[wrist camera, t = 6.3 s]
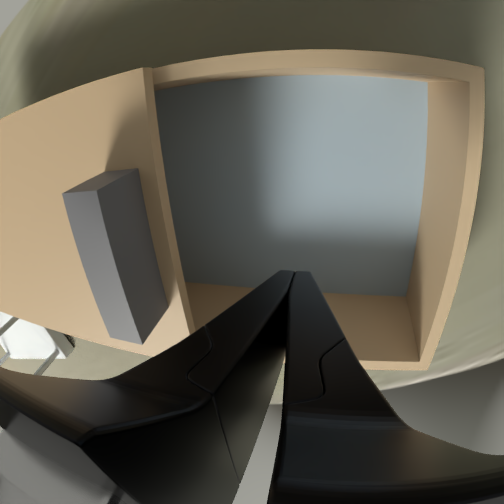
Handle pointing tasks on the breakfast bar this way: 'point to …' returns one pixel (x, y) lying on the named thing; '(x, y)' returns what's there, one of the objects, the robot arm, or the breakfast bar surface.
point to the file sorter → (31, 341)
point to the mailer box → (326, 185)
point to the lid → (91, 218)
